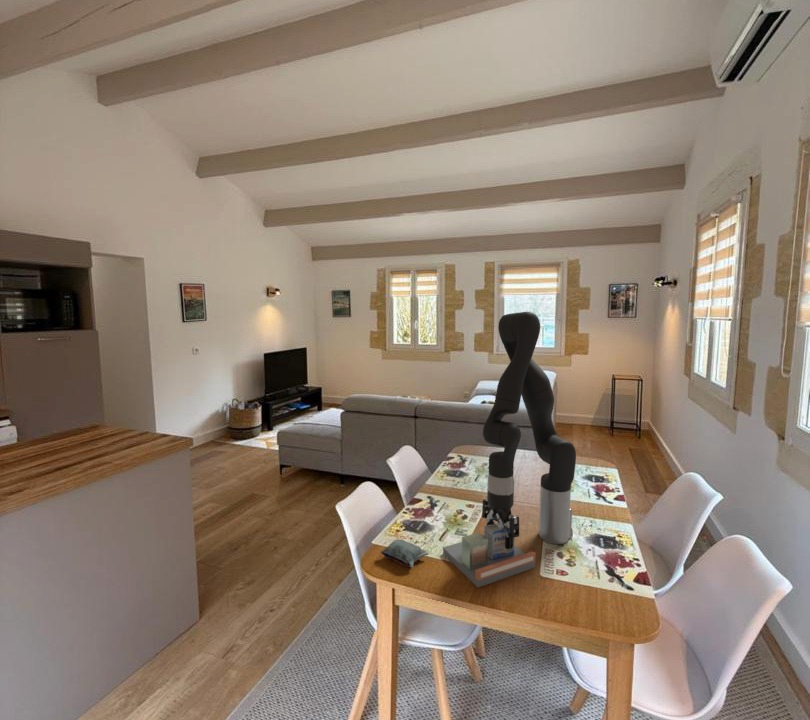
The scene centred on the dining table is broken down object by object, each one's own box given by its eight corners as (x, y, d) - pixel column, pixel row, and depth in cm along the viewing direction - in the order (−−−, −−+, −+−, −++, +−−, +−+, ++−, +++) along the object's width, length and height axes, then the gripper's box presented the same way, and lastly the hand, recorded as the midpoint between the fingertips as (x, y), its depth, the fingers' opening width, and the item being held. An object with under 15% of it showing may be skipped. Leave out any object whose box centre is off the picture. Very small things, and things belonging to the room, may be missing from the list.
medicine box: (492, 560, 126) (492, 532, 125) (483, 552, 130) (484, 525, 129) (514, 554, 129) (515, 526, 128) (505, 546, 133) (506, 520, 132)
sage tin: (479, 557, 127) (479, 532, 126) (487, 565, 124) (488, 539, 123) (461, 563, 125) (462, 537, 124) (470, 571, 121) (470, 544, 120)
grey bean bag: (398, 546, 138) (398, 531, 137) (429, 559, 130) (429, 544, 130) (380, 559, 131) (379, 544, 130) (411, 574, 124) (411, 558, 123)
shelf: (496, 537, 142) (496, 525, 141) (535, 567, 126) (535, 553, 125) (443, 553, 133) (443, 540, 133) (478, 587, 117) (478, 572, 117)
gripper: (475, 482, 131) (474, 532, 133) (506, 500, 119) (504, 556, 121) (495, 477, 135) (494, 527, 137) (527, 495, 122) (525, 549, 124)
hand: (499, 540), depth 129 cm, fingers open, 8 cm apart
